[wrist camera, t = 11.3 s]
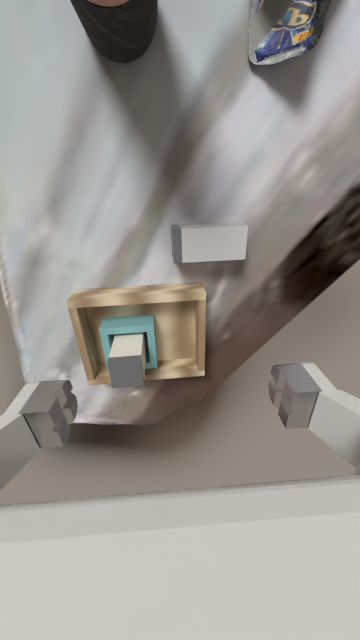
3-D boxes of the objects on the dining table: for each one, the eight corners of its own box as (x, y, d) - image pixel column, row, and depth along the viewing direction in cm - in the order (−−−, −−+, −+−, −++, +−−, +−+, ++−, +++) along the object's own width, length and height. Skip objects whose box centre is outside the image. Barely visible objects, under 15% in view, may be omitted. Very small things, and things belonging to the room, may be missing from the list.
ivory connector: (144, 324, 37) (140, 359, 29) (146, 346, 39) (143, 385, 31) (117, 326, 37) (106, 362, 29) (121, 348, 38) (112, 387, 30)
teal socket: (153, 314, 36) (153, 325, 33) (157, 354, 40) (157, 367, 36) (103, 317, 36) (98, 328, 33) (112, 357, 39) (108, 371, 36)
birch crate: (200, 282, 35) (206, 292, 32) (200, 359, 42) (204, 375, 38) (76, 289, 34) (66, 301, 30) (95, 367, 41) (89, 385, 37)
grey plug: (238, 222, 32) (248, 225, 28) (235, 252, 34) (245, 259, 30) (171, 225, 31) (172, 229, 28) (172, 256, 33) (174, 263, 30)
